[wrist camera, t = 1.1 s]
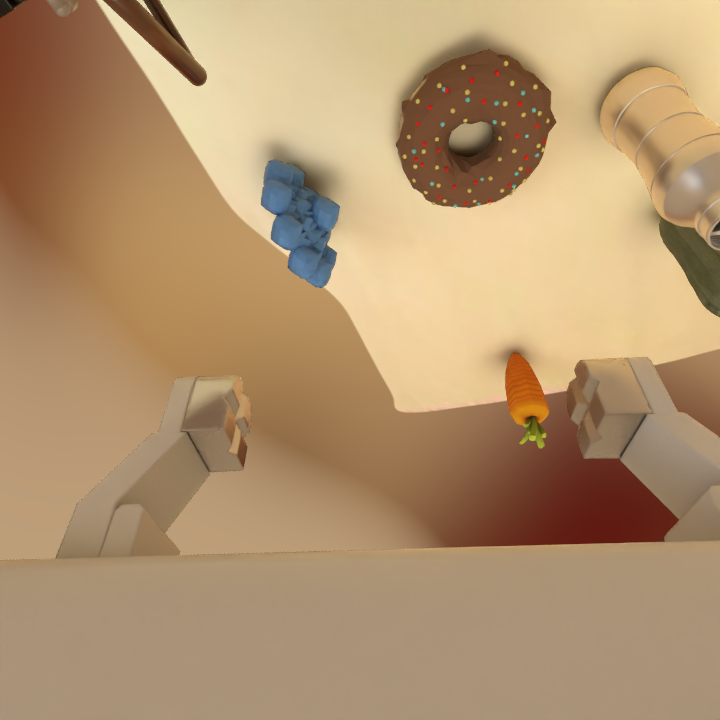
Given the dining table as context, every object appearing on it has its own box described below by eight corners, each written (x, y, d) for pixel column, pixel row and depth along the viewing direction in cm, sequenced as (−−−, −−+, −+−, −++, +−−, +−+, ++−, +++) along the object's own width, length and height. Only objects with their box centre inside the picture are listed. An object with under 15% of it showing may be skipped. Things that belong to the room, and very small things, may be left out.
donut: (517, 194, 54) (527, 222, 51) (388, 185, 53) (390, 213, 50) (569, 42, 43) (586, 65, 40) (408, 28, 42) (412, 50, 39)
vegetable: (638, 214, 56) (723, 351, 43) (673, 182, 53) (775, 318, 40) (666, 230, 57) (756, 367, 44) (701, 199, 54) (808, 336, 41)
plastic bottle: (577, 118, 48) (659, 250, 35) (634, 44, 43) (753, 165, 30) (629, 145, 50) (725, 280, 37) (688, 77, 45) (822, 204, 32)
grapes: (366, 218, 56) (367, 291, 48) (312, 241, 58) (305, 314, 51) (312, 122, 48) (303, 192, 40) (253, 153, 50) (233, 224, 43)
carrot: (530, 362, 75) (555, 453, 65) (495, 365, 75) (515, 455, 65) (534, 339, 71) (561, 432, 61) (497, 343, 71) (519, 435, 62)
